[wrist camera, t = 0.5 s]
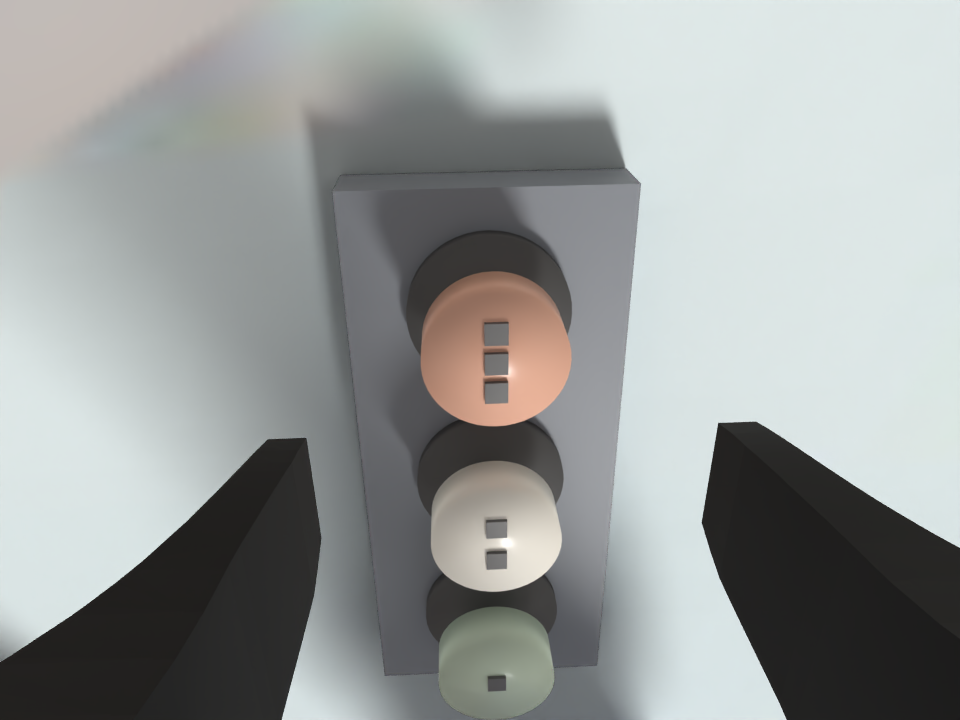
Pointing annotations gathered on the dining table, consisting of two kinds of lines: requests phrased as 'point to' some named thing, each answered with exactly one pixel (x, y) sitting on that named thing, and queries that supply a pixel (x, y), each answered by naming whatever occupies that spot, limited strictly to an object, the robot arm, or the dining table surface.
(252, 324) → the dining table surface
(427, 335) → the button three
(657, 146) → the dining table surface
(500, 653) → the button one
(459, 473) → the button two
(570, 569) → the button panel
